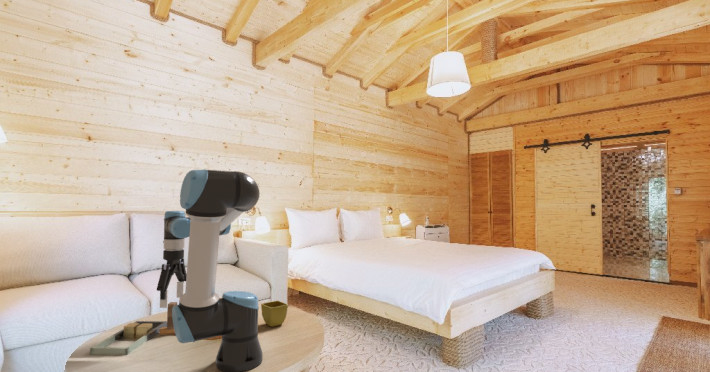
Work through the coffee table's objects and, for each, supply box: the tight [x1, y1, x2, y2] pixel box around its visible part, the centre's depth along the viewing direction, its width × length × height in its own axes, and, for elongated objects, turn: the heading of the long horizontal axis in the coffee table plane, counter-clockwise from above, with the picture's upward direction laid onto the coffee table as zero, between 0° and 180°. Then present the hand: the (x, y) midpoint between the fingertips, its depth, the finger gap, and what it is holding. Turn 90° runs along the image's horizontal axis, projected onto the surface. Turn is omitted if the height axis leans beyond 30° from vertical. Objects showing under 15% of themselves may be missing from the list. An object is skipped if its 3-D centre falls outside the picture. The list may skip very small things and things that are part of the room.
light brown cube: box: [136, 323, 152, 337], centre depth 146 cm, size 4×4×4 cm
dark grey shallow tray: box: [113, 320, 167, 342], centre depth 148 cm, size 16×13×3 cm
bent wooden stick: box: [158, 301, 178, 336], centre depth 148 cm, size 3×9×13 cm, turn 90°
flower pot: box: [260, 300, 289, 328], centre depth 163 cm, size 9×9×9 cm
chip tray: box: [89, 334, 148, 355], centre depth 134 cm, size 12×13×3 cm
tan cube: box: [123, 322, 140, 337], centre depth 146 cm, size 4×4×4 cm
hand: (172, 302), depth 149 cm, fingers open, 13 cm apart
